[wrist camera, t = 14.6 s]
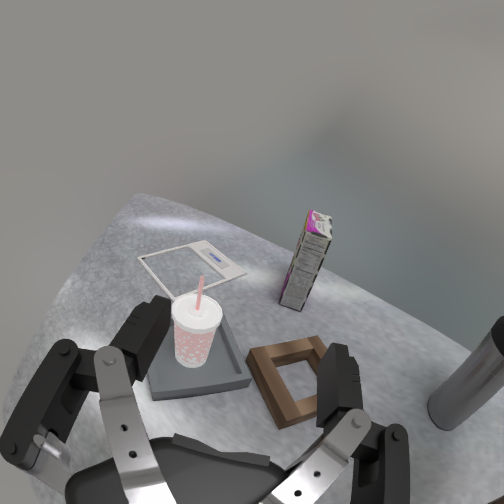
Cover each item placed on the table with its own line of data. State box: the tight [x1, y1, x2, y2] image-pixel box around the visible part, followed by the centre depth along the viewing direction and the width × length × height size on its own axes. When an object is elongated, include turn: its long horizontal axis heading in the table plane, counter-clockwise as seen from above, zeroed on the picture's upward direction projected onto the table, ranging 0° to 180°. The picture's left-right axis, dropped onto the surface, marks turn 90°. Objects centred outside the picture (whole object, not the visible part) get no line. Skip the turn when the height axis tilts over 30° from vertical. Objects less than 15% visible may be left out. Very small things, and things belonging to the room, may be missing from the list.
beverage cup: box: [172, 275, 223, 368], centre depth 32 cm, size 6×6×14 cm
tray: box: [148, 311, 252, 401], centre depth 35 cm, size 13×13×2 cm
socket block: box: [246, 335, 327, 430], centre depth 35 cm, size 12×12×3 cm
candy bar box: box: [279, 210, 332, 312], centre depth 51 cm, size 11×5×16 cm, turn 165°
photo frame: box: [137, 240, 247, 303], centre depth 55 cm, size 15×1×18 cm
